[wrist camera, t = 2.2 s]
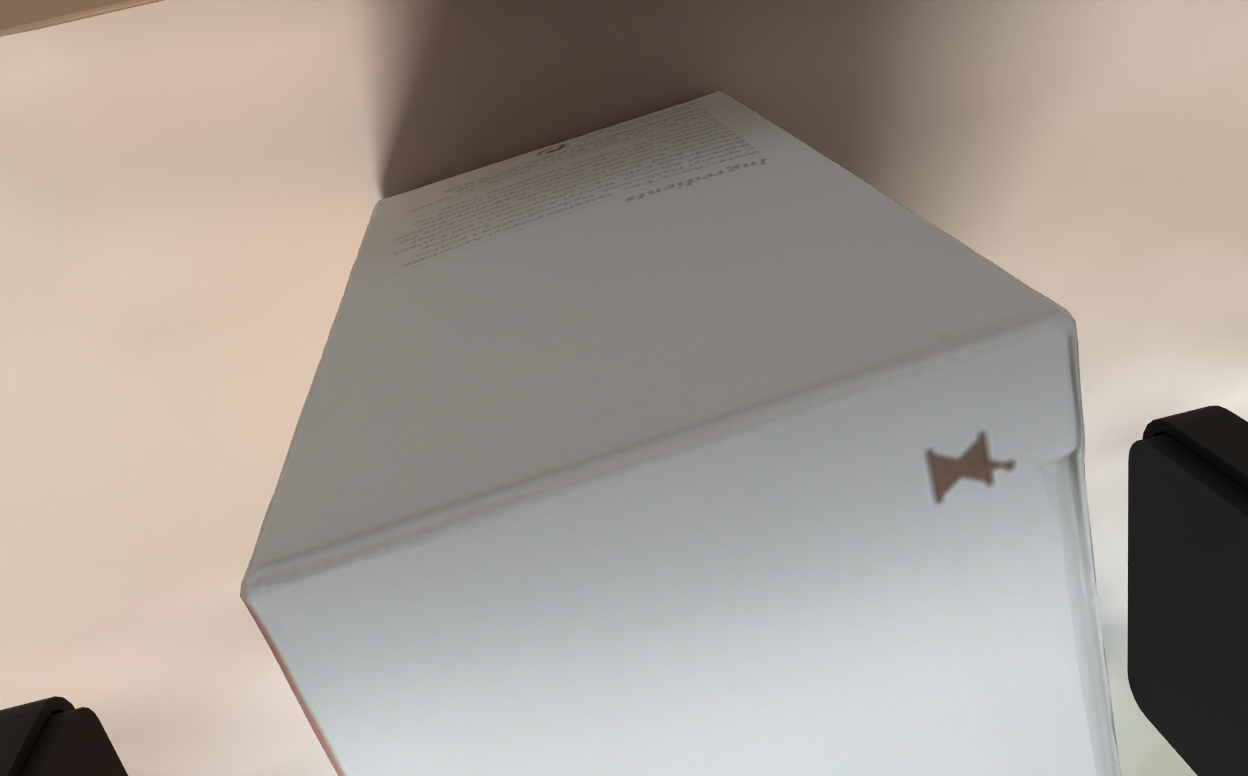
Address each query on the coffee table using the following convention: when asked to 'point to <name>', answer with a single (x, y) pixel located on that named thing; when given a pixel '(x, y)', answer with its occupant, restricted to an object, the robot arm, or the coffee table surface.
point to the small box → (686, 481)
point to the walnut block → (55, 12)
